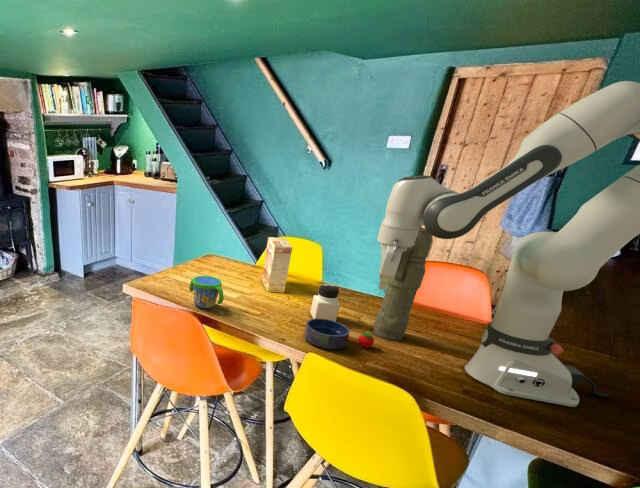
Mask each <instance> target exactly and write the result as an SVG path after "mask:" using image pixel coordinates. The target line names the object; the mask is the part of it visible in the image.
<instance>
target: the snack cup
mask: <svg viewBox="0 0 640 488" xmlns="http://www.w3.org/2000/svg"><path fill="white" fill-rule="evenodd" d="M222 284H223V281H222V280H221V279H220V278H218V277H215V276H212V275H198V276H195V277H193V278H191V280H190V283H189V288H188V289H189V292H193V303H194V306H196V307H197V308H200V309H202V310H203V309H204V310H205V309H206V310H210V309H213V308H214V307H215V305H216V302H217V305H221V304H222V303H223V302H224V290H223V288H222Z"/></svg>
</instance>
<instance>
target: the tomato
mask: <svg viewBox="0 0 640 488" xmlns="http://www.w3.org/2000/svg"><path fill="white" fill-rule="evenodd" d="M373 335H374V334H372V333H369V332H362V334H360V336H359V337H358V339H357V342H358V345H359V346H360V347H361V348H365V349H368V348H369V349H370V348H371V347H372V346H373V345H374V344H375V339H374V337H373Z"/></svg>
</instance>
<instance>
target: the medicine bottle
mask: <svg viewBox="0 0 640 488" xmlns="http://www.w3.org/2000/svg"><path fill="white" fill-rule="evenodd" d="M339 292H340V289H339V287H337V286H335V285H333V284H328V283H327V284H322V285H320V286H319V288H318V293H317V294H318V295H317V294H314V295H313V298H312V303H311V306H310V311H309V313H310V316H311V317H312V319H327V320H332V321H335V322H337V319H338V315H339V311H340V308H341V303H340V302H339V300H338V296H339Z"/></svg>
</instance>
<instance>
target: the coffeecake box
mask: <svg viewBox="0 0 640 488" xmlns="http://www.w3.org/2000/svg"><path fill="white" fill-rule="evenodd" d="M292 252H293V246H292V245H291V243H289V242H288V241H287V239H286V238H285V237H276V236H275V237H274V236H268V237H267V242H266V248H265V256H264V262H263V267H262V275H261V282H262V284H263V286H264V288H265V290H266V291H267V292H269V293H285V291H286V285H287V280H288V279H287V278H288V274H289V269H290V262H291V258H292V257H291V256H292Z"/></svg>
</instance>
